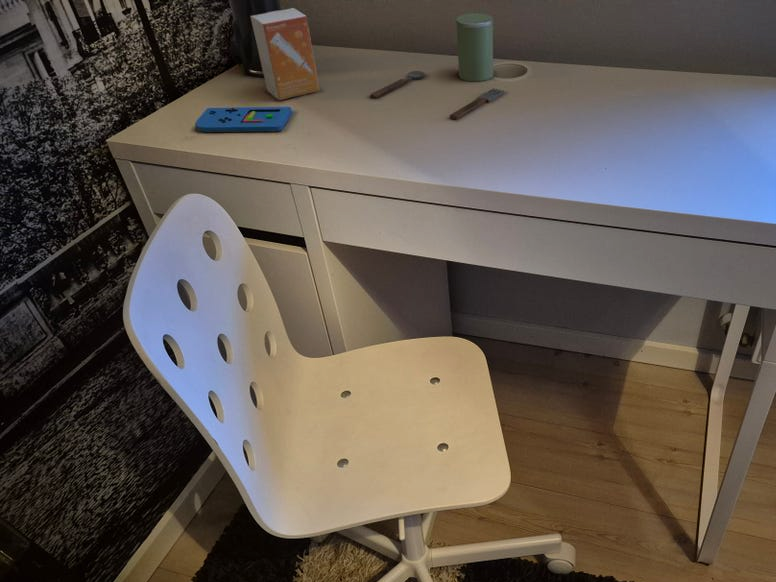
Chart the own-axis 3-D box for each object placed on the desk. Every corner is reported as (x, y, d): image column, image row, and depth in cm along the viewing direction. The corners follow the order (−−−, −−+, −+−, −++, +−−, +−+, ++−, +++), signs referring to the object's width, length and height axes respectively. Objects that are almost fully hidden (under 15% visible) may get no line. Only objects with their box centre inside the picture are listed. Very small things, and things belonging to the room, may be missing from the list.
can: (461, 82, 125) (458, 25, 118) (456, 70, 130) (453, 14, 123) (496, 79, 125) (496, 22, 119) (490, 67, 130) (489, 12, 124)
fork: (459, 120, 112) (458, 117, 112) (447, 117, 113) (447, 114, 113) (504, 93, 120) (504, 90, 120) (493, 90, 121) (493, 87, 121)
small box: (279, 101, 120) (261, 23, 111) (267, 91, 124) (249, 15, 115) (321, 91, 123) (307, 15, 114) (307, 81, 127) (293, 6, 118)
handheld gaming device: (206, 106, 116) (291, 104, 116) (208, 112, 117) (293, 111, 116) (190, 125, 110) (279, 124, 109) (192, 132, 111) (281, 131, 110)
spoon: (380, 100, 119) (379, 96, 119) (366, 96, 121) (366, 93, 120) (427, 75, 128) (427, 72, 127) (414, 72, 129) (414, 69, 129)
